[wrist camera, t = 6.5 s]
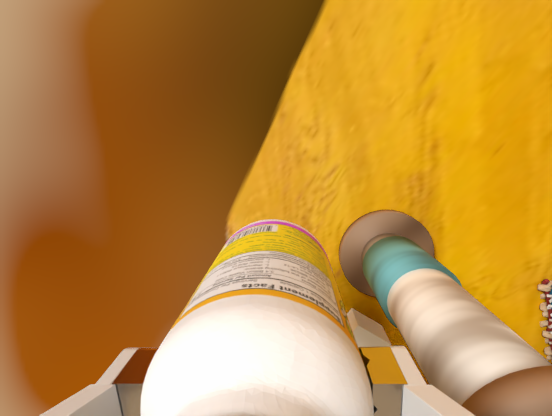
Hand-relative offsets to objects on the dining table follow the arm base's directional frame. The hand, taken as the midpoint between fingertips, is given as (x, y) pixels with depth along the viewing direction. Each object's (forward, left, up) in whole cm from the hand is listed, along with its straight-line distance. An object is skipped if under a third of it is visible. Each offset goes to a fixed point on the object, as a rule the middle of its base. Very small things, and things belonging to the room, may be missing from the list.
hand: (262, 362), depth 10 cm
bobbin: (-11, -2, -19) cm, 22 cm away
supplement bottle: (0, 0, -8) cm, 8 cm away
